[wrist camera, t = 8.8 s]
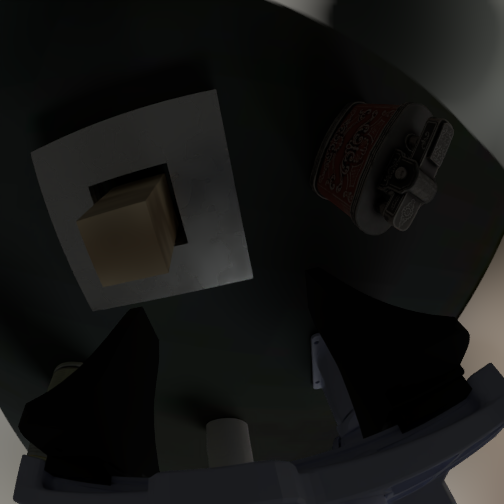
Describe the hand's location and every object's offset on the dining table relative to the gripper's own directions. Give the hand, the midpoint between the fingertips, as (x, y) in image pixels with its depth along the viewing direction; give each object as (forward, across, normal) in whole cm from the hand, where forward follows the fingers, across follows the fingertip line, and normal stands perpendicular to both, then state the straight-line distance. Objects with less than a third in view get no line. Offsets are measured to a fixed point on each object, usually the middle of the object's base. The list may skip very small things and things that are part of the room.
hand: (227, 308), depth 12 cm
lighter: (+10, -10, -4) cm, 15 cm away
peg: (+10, +5, -3) cm, 12 cm away
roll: (+11, +6, +28) cm, 31 cm away
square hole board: (+10, +5, -3) cm, 12 cm away
